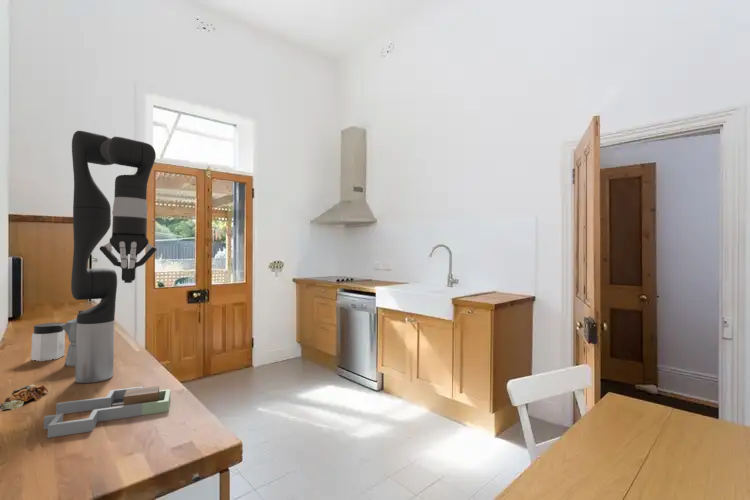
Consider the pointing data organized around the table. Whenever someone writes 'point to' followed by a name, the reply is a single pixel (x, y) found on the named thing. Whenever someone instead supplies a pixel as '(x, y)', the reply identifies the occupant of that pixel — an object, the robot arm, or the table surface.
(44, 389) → the pastry
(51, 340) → the jar
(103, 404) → the track
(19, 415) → the table surface
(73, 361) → the coffee maker
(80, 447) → the table surface
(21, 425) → the table surface
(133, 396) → the block
